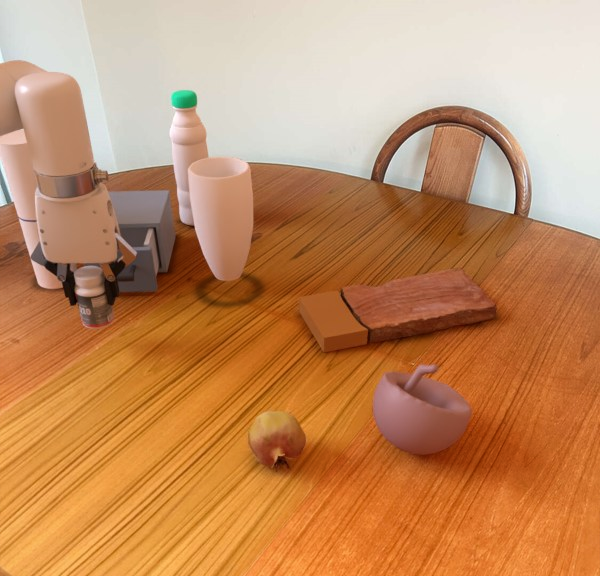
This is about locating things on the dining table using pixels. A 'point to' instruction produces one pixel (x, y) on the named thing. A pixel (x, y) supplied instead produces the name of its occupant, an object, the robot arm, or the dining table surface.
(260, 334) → the dining table surface
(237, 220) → the cup
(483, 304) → the brown flat slab
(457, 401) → the mortar and pestle
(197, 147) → the water bottle
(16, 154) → the cylindrical container
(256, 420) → the fruit
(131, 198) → the cabinet
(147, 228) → the drawer
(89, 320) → the pill bottle
